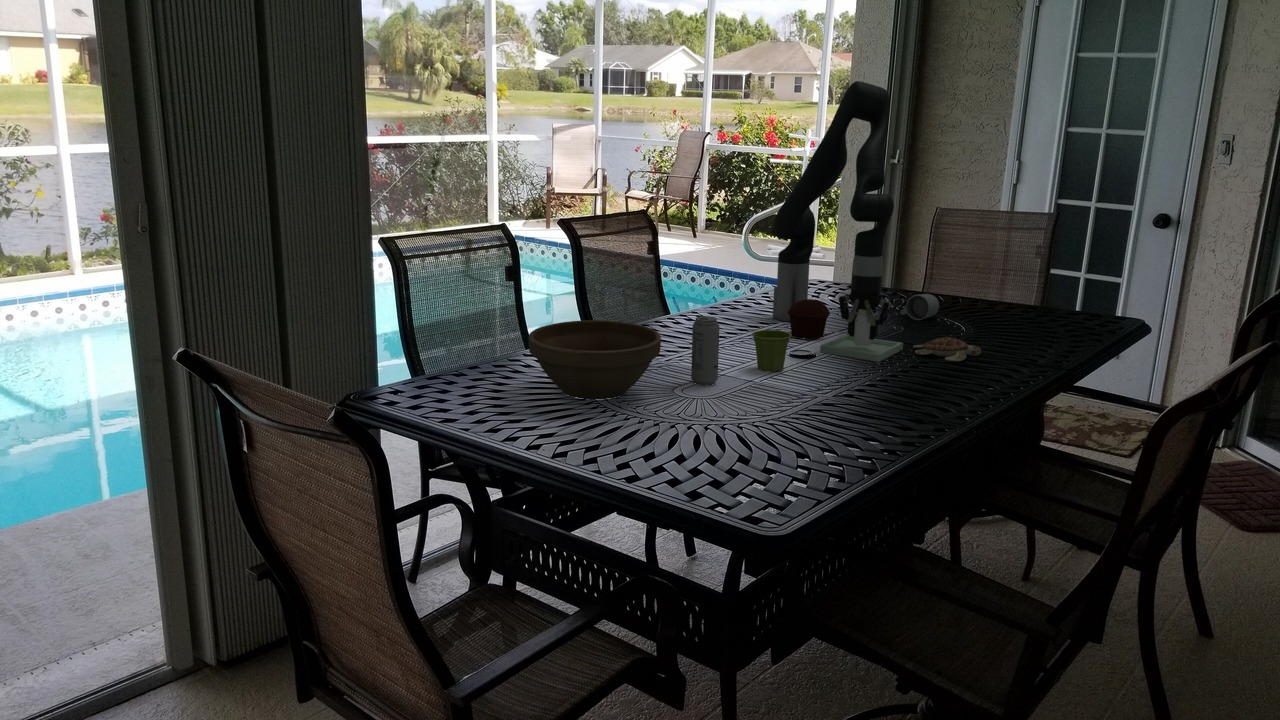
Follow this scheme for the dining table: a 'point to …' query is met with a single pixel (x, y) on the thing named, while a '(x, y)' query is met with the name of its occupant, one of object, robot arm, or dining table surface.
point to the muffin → (808, 319)
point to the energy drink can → (705, 350)
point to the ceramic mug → (921, 306)
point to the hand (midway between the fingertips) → (862, 337)
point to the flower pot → (594, 355)
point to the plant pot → (771, 349)
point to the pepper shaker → (862, 329)
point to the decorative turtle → (948, 349)
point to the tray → (861, 348)
